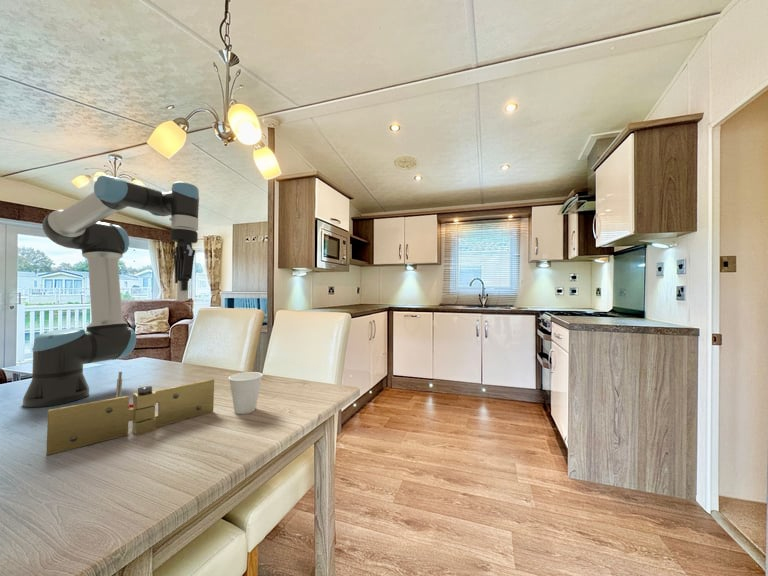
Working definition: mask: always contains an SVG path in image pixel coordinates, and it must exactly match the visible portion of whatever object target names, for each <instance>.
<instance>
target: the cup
mask: <svg viewBox="0 0 768 576" xmlns="http://www.w3.org/2000/svg"><path fill="white" fill-rule="evenodd" d="M263 376H264V374H263V373H262V372H257V371H245V372H238V373H234V374H231V375H229V376H228V380H229V384H230V385H229V386H230V391H231V392H230V393H231V397H232V404H233V411H234V413H235V414H237V415H246V414H247V415H248V414H251V413H253V412H254V411H255V410H256V409H257V404H258V398H259V394H260V389H261V384H262V379H263Z"/></svg>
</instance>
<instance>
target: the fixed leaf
mask: <svg viewBox="0 0 768 576" xmlns="http://www.w3.org/2000/svg"><path fill="white" fill-rule="evenodd" d="M140 395H141V394H138V392H134V393H133V394H132V404H133V406H134V407H135V408H136V409H141V408H145V407H149V406H158V407H157V408H158V410H157V414H155V418H152V419H148V420H145V421H141V422H140V421H139V422H135V420H134V421H131V422H132V423H131V424H132V425H131V427H132V428H131V432H132V433H133V434H134V435H135V436H136V437H137V436H141V435H143V434H147V433H151V432H155V431H156V429H157V428H159V427H162V426H166V425H169V424H172V423H177V422H180V421H184V420H188V419H191V418H194V417H199V416H201V415H205V414H209V413H212V412H214V406H215V405H214V403H215V402H214V401H215V400H214V399H215V397H214V395H215V379H213V378H211V379H207V380H202V381H197V382H191V383H187V384H182V385H177V386H176V385H175V386H172V387H167V388H161V389H156V390H153V389H152V392H151V393H149V394H146V395H141V396H140ZM157 404H158V405H157ZM134 407H133V408H134Z"/></svg>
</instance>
